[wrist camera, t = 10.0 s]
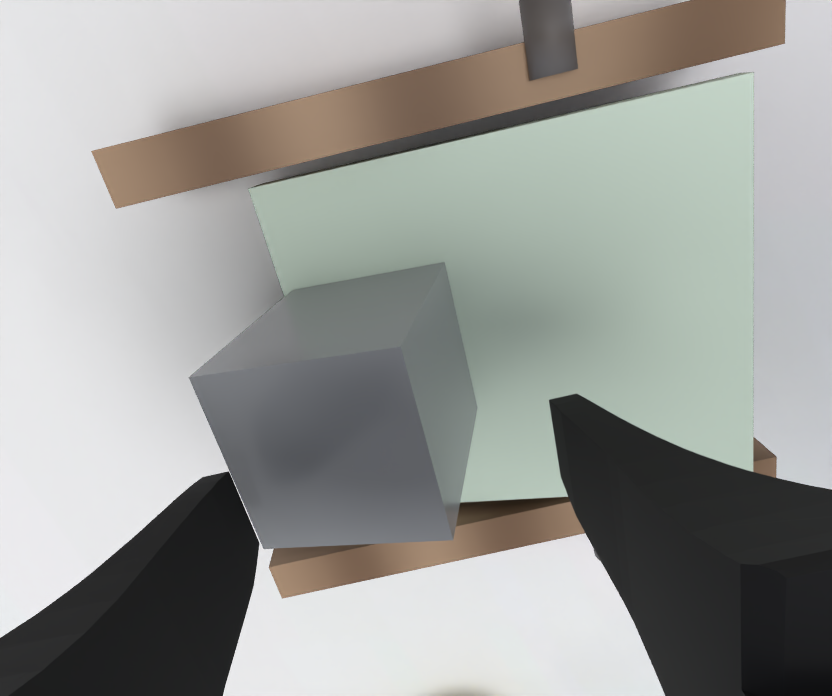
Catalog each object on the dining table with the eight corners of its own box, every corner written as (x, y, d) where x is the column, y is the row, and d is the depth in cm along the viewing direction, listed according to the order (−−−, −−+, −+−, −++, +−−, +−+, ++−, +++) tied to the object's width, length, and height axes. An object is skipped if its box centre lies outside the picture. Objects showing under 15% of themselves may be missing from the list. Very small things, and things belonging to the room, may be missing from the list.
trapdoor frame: (684, -19, 18) (809, -78, 13) (702, 439, 25) (790, 527, 19) (151, 115, 19) (58, 114, 14) (307, 526, 25) (286, 634, 20)
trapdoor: (708, 74, 17) (753, 72, 13) (716, 419, 21) (753, 486, 18) (298, 170, 20) (248, 188, 17) (381, 447, 25) (354, 508, 21)
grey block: (444, 261, 17) (400, 346, 11) (477, 407, 18) (453, 540, 13) (292, 289, 18) (188, 377, 13) (337, 423, 20) (263, 549, 14)
